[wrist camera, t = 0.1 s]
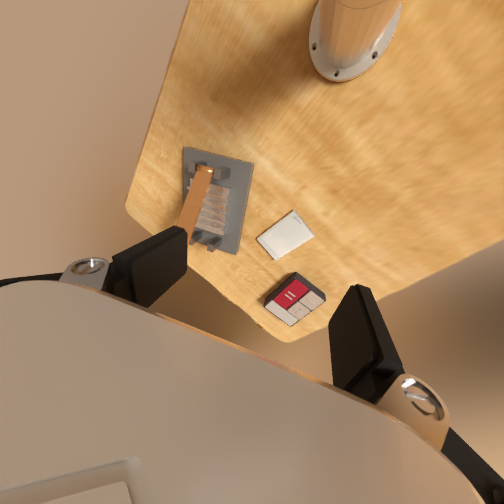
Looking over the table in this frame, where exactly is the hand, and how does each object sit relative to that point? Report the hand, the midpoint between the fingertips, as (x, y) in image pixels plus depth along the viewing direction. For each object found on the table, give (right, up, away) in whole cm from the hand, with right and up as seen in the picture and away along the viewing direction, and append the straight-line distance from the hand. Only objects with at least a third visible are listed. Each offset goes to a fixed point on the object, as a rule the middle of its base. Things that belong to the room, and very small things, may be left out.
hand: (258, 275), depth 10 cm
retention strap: (-13, +10, +29) cm, 34 cm away
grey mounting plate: (-10, +14, +39) cm, 43 cm away
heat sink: (-11, +13, +38) cm, 41 cm away
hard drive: (+8, +6, +38) cm, 40 cm away
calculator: (+12, -12, +46) cm, 49 cm away
